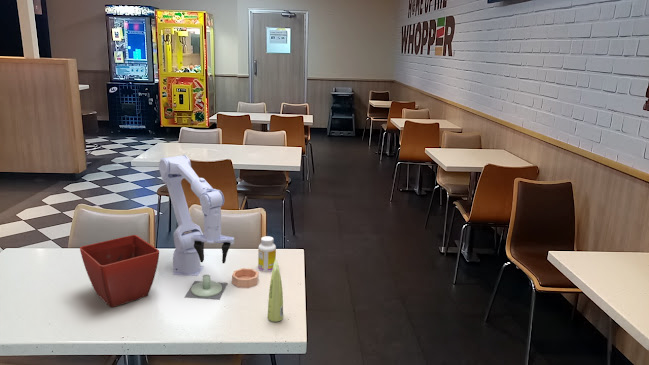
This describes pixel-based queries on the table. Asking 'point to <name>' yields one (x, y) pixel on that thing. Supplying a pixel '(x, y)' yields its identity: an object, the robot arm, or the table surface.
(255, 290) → the table surface
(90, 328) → the table surface
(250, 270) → the bowl
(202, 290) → the lid
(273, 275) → the tube
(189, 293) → the mat
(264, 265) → the supplement bottle
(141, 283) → the plant pot
